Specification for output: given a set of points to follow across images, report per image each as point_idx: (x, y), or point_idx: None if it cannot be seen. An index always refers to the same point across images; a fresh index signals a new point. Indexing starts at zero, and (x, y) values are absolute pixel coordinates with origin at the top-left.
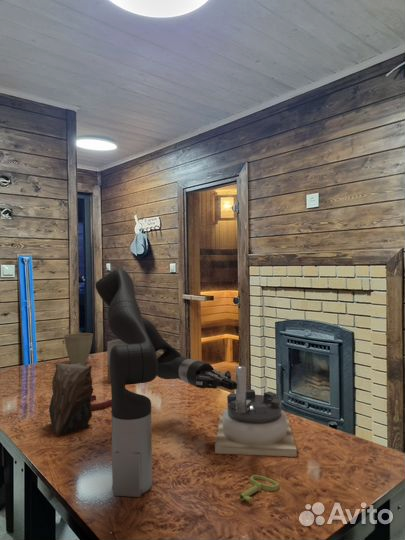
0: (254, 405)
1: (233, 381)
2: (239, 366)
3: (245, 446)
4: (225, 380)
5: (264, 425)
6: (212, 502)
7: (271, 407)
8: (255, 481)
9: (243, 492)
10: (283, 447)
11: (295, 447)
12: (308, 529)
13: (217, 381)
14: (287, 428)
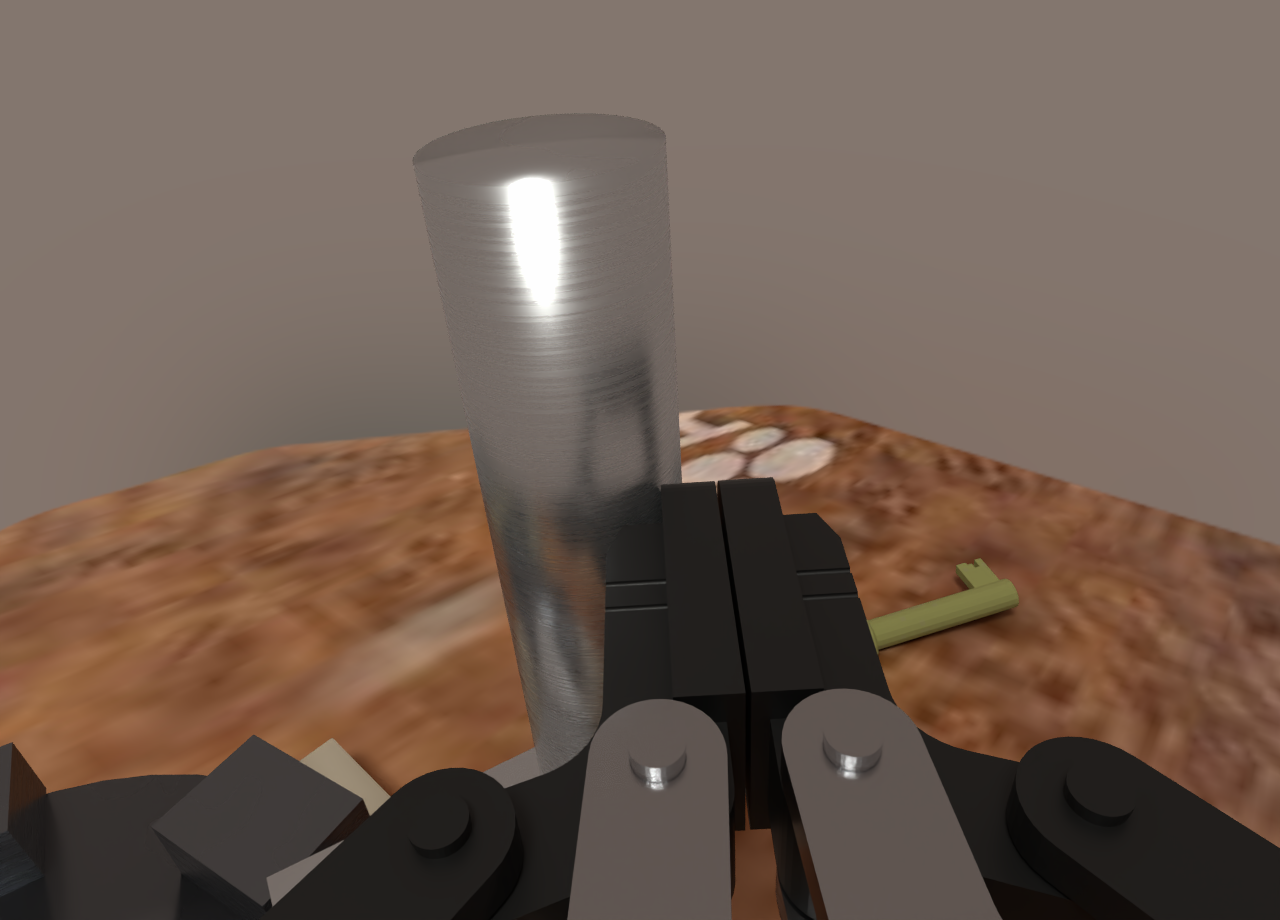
0: (296, 859)
1: (698, 487)
2: (517, 165)
3: None
4: (805, 612)
5: None
6: (1175, 681)
7: (51, 869)
8: None
9: (984, 601)
10: (367, 807)
11: (305, 760)
12: (832, 430)
13: (1002, 761)
14: None
